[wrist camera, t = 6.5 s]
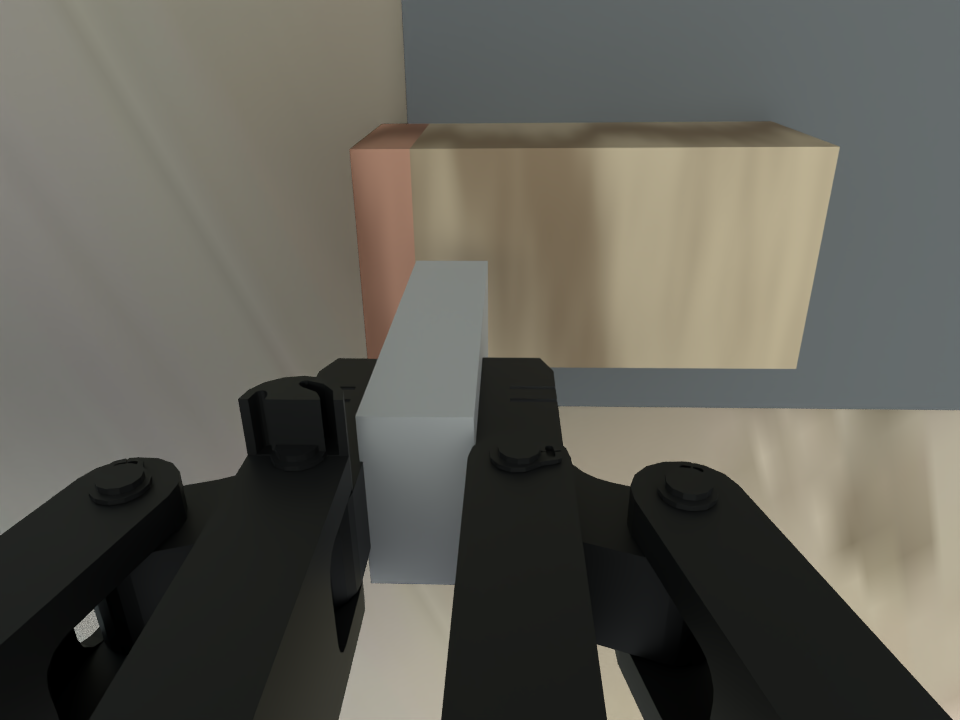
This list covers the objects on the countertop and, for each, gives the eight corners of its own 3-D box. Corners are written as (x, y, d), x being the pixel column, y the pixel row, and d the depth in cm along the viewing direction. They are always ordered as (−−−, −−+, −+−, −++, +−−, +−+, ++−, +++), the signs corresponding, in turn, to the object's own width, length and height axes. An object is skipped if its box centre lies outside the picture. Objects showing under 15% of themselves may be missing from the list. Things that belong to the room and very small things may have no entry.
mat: (422, 399, 27) (421, 404, 27) (402, -22, 21) (400, -23, 21) (966, 404, 26) (973, 410, 26) (1105, -30, 20) (1116, -31, 20)
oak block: (368, 366, 20) (796, 368, 20) (350, 149, 18) (839, 146, 17) (393, 303, 25) (742, 305, 24) (382, 123, 22) (771, 121, 22)
